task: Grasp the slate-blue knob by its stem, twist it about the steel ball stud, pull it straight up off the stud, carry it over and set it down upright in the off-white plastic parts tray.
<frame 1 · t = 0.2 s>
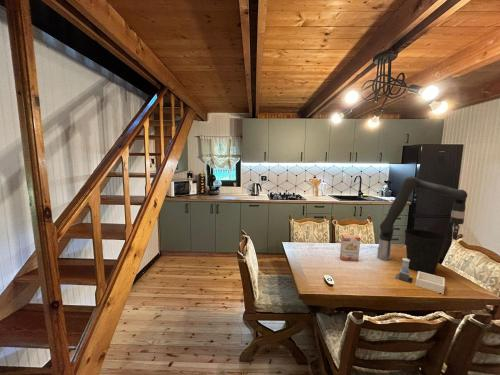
hand: (454, 238, 179), 29 cm above the table, fingers open, 8 cm apart
stud mount: (403, 279, 174), on the table
knob: (403, 278, 174), point 1 cm above the table, touching stud mount
bucket: (420, 269, 192), on the table
parts tray: (429, 286, 166), on the table
cracker box: (348, 259, 206), on the table
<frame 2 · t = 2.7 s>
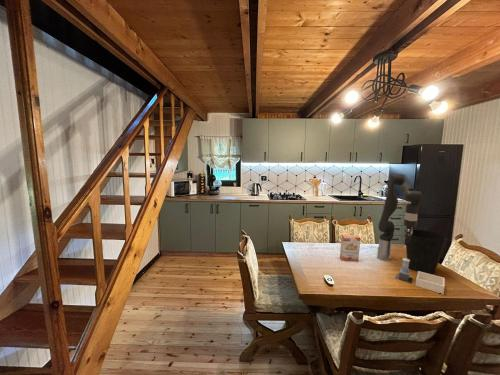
hand: (408, 241, 171), 29 cm above the table, fingers open, 8 cm apart
nothing on the table moved.
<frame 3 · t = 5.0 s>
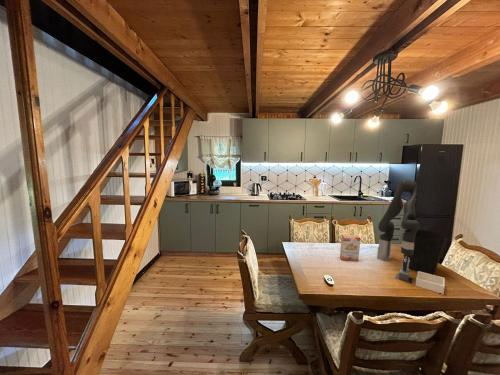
hand: (404, 269, 173), 7 cm above the table, fingers closed on knob, 3 cm apart
knob: (403, 278, 174), point 1 cm above the table, touching gripper, stud mount
everything else where it was.
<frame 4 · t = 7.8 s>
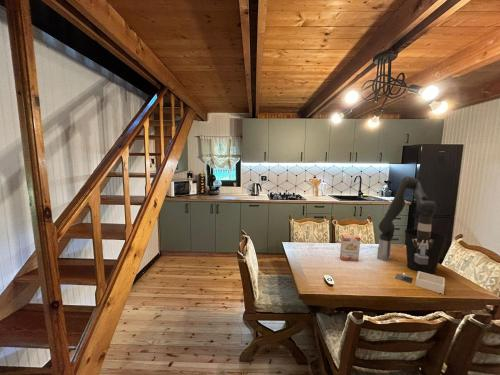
hand: (421, 253, 166), 22 cm above the table, fingers closed on knob, 3 cm apart
knob: (420, 262, 167), point 15 cm above the table, touching gripper
everything else where it was.
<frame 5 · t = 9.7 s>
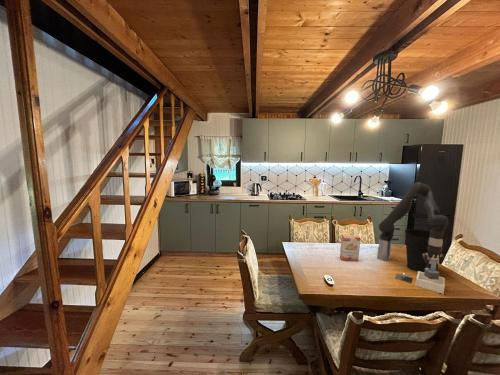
hand: (432, 268, 164), 13 cm above the table, fingers closed on knob, 3 cm apart
knob: (431, 277, 165), point 7 cm above the table, touching gripper
everything else where it was.
when the fingers open (9 cm above the table, at t = 10.9 s): knob drops 1 cm, resting on parts tray.
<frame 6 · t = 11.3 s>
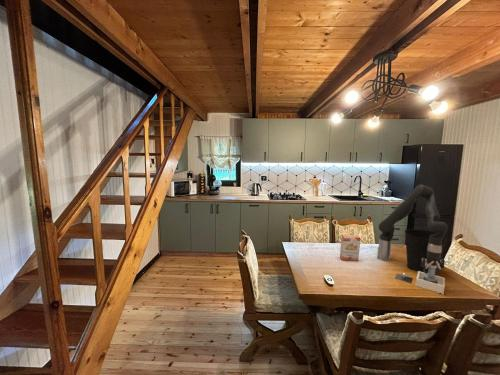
hand: (431, 273, 164), 9 cm above the table, fingers open, 7 cm apart
knob: (429, 285, 165), point 1 cm above the table, touching parts tray
everything else where it was.
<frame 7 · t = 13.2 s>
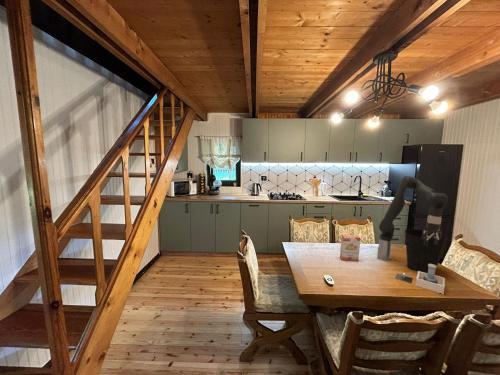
hand: (430, 244, 165), 28 cm above the table, fingers open, 8 cm apart
nothing on the table moved.
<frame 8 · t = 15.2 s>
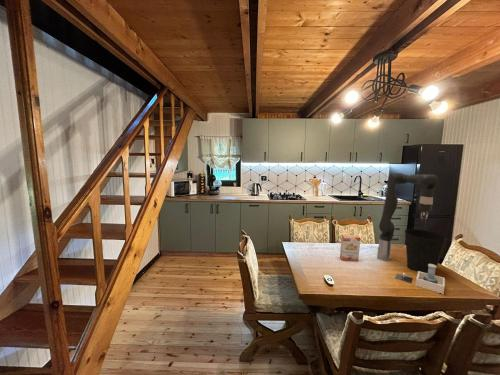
hand: (423, 225, 171), 40 cm above the table, fingers open, 8 cm apart
nothing on the table moved.
at the end: knob inside the target area on the parts tray (0.0 cm from its centre), point 0.8 cm above the parts tray's base; knob tilted 0°; knob touching parts tray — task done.
